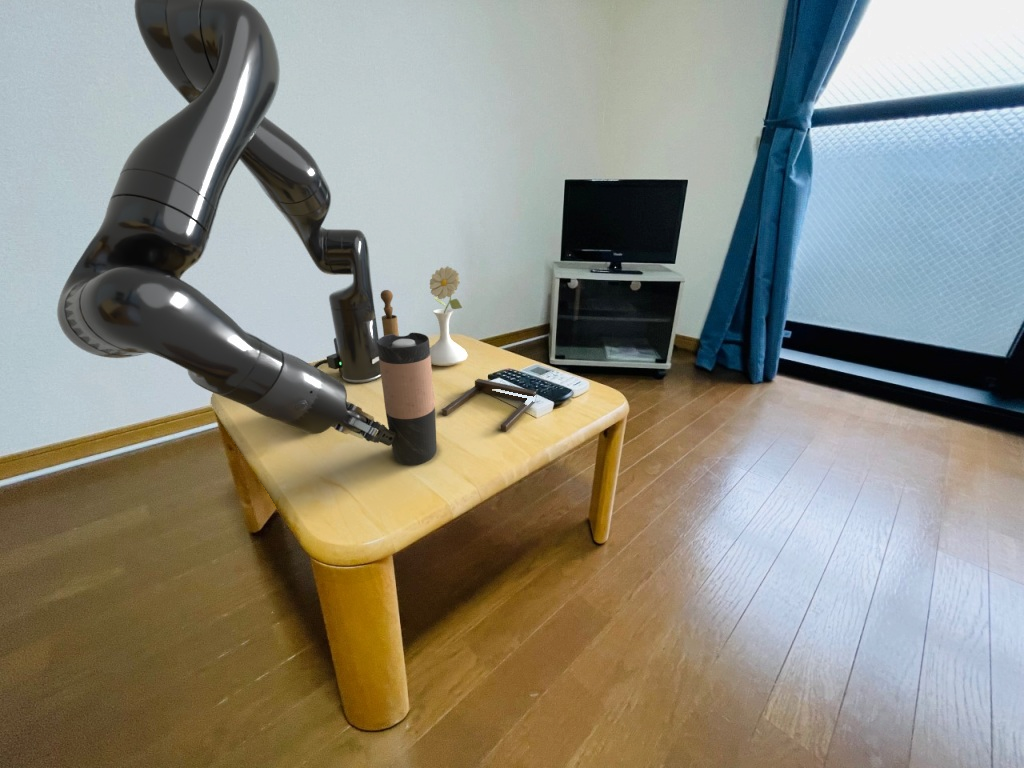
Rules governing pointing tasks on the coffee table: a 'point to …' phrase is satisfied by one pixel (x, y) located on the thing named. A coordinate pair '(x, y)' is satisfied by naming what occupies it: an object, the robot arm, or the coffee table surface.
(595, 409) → the coffee table surface
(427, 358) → the travel mug
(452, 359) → the flower in vase
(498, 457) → the coffee table surface
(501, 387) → the walnut stand
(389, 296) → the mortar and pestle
